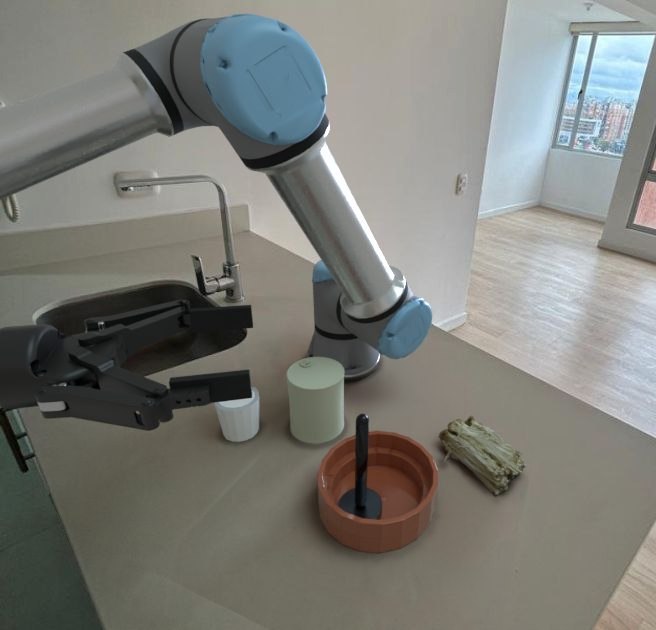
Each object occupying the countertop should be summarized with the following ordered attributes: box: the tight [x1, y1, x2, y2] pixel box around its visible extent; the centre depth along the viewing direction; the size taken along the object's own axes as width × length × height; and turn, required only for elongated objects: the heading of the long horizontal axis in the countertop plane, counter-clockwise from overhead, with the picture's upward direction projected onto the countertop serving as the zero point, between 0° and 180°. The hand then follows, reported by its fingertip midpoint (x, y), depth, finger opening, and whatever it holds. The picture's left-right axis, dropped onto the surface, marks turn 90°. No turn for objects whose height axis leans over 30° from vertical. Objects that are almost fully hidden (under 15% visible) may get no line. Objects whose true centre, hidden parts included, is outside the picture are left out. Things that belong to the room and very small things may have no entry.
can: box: [286, 357, 345, 444], centre depth 74 cm, size 9×9×12 cm
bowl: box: [317, 430, 439, 554], centre depth 63 cm, size 16×16×6 cm
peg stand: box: [338, 413, 382, 520], centre depth 58 cm, size 6×6×17 cm
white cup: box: [213, 385, 260, 443], centre depth 73 cm, size 7×7×7 cm
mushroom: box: [438, 415, 527, 497], centre depth 71 cm, size 14×10×5 cm, turn 42°
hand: (252, 345), depth 47 cm, fingers open, 13 cm apart
